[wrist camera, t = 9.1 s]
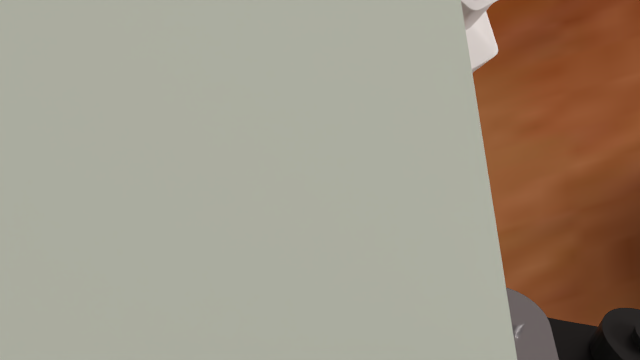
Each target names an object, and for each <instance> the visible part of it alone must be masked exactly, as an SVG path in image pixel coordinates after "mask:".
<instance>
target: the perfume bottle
mask: <svg viewBox="0 0 640 360" xmlns="http://www.w3.org/2000/svg"><path fill="white" fill-rule="evenodd" d="M496 1H498V0H461V5H462V11H463V17H464V24H465V30H466V36H467V43H468V49H469V56H470V62H471V68H472V73H473V72H474V71H475V70H477V69H478V68H479V67H481V66H482V65H483V64H485V63H486V62H487V61H489V60H490V59H492V58H493V57H494V56H495V55H496V54H497V53H498V47H497V44H496V41H495V38H494V34H493V31H492V28H491V25H490V22H489V19H488V16H487V13H486V10H487V9H488V8H489V7H490V5H491V4H492V3H494V2H496Z"/></svg>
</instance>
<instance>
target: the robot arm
mask: <svg viewBox="0 0 640 360" xmlns="http://www.w3.org/2000/svg"><path fill="white" fill-rule="evenodd" d="M506 291H507V298H508V304H509V310H510V317H511V323H512V329H513V336H514V342H515V349H516V355H517V360H640V310H638V309H632V308H618V309H614V310H612V311H610V312H608V313H607V314H606V315H605V316H604V318H603V320H602V321H601V323H600V325H599V326H598V327H596V326H591V325H585V324H579V323H573V322H568V321H562V320H556V319H552V318H548V317H546V315H545V314H544V312H543V311H542V310H541V309H540V308H539V307H538V306H537V305H536V304H535V303H534V302H533V301H532V300H530V299H529V298H527V297H526V296H524V295H523V294H521V293H519V292H517V291H514V290H511V289H509V288H506Z"/></svg>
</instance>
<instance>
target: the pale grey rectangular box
mask: <svg viewBox="0 0 640 360" xmlns="http://www.w3.org/2000/svg"><path fill="white" fill-rule="evenodd" d="M0 360H517V355H516V349H515V342H514V336H513V329H512V323H511V317H510V310H509V304H508V298H507V291H506V285H505V279H504V272H503V266H502V259H501V253H500V247H499V240H498V234H497V228H496V221H495V215H494V208H493V202H492V196H491V189H490V183H489V177H488V170H487V164H486V157H485V151H484V145H483V138H482V132H481V126H480V119H479V113H478V107H477V100H476V94H475V87H474V81H473V75H472V68H471V62H470V56H469V49H468V43H467V36H466V30H465V24H464V17H463V11H462V5H461V0H0Z"/></svg>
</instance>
